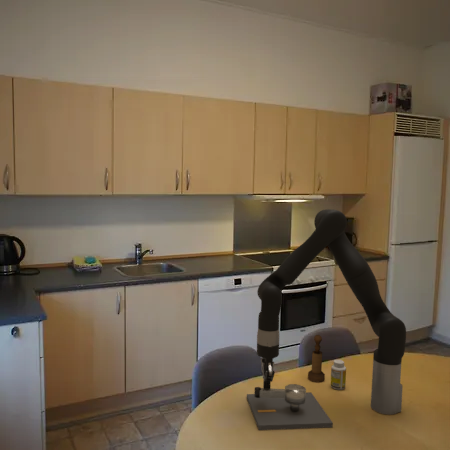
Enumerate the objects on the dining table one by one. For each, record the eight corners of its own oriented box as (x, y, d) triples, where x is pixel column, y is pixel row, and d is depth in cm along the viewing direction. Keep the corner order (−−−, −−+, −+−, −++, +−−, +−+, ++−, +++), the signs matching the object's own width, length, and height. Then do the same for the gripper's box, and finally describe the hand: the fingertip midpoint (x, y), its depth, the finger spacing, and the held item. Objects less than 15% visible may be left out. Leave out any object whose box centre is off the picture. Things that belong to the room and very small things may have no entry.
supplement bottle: (342, 384, 177) (343, 358, 177) (347, 390, 172) (348, 364, 171) (328, 384, 177) (329, 358, 176) (333, 390, 171) (334, 364, 171)
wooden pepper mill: (312, 383, 177) (314, 338, 176) (305, 376, 184) (306, 333, 182) (327, 381, 179) (329, 337, 178) (319, 375, 185) (321, 332, 184)
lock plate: (310, 396, 166) (311, 391, 166) (332, 427, 144) (332, 422, 144) (246, 398, 163) (246, 393, 163) (258, 430, 141) (258, 425, 141)
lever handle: (303, 405, 155) (304, 384, 154) (306, 415, 148) (307, 393, 147) (253, 402, 156) (254, 382, 155) (254, 412, 149) (254, 390, 148)
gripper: (254, 335, 159) (252, 382, 160) (260, 348, 146) (259, 400, 147) (275, 334, 160) (273, 382, 161) (283, 348, 147) (281, 399, 148)
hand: (266, 390), depth 154 cm, fingers closed
